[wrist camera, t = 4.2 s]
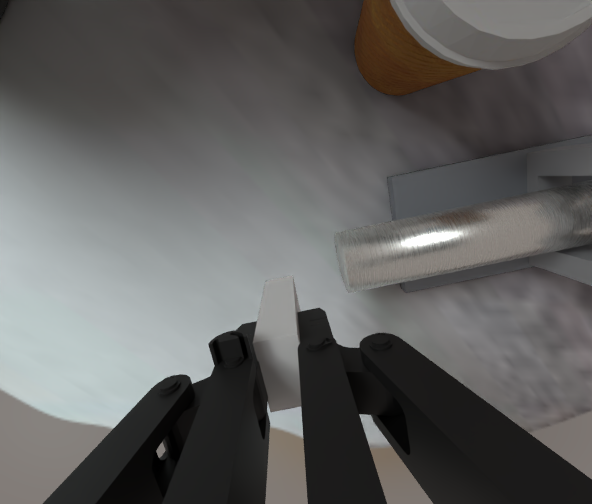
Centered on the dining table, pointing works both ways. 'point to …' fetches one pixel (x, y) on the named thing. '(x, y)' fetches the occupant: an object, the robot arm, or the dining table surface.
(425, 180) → the collar bench
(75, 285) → the dining table surface
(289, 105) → the dining table surface
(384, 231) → the aluminium tube
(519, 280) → the dining table surface
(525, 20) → the disposable coffee cup
